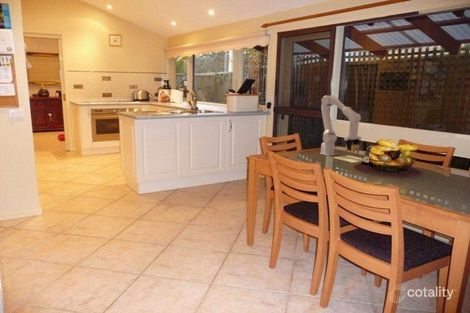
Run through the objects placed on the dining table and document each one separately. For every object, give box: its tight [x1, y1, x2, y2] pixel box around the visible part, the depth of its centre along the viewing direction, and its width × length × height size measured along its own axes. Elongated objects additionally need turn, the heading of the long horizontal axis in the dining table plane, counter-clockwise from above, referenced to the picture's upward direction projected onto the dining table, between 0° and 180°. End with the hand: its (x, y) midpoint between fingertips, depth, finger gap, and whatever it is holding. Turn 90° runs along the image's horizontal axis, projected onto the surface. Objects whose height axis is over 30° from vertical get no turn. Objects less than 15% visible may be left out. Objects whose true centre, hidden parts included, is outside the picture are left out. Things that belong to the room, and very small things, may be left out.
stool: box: [344, 142, 361, 155], centre depth 247 cm, size 8×5×6 cm, turn 26°
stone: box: [360, 145, 376, 164], centre depth 235 cm, size 14×10×15 cm
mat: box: [333, 155, 363, 164], centre depth 249 cm, size 18×16×1 cm
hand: (351, 150), depth 248 cm, fingers closed on stool, 5 cm apart
